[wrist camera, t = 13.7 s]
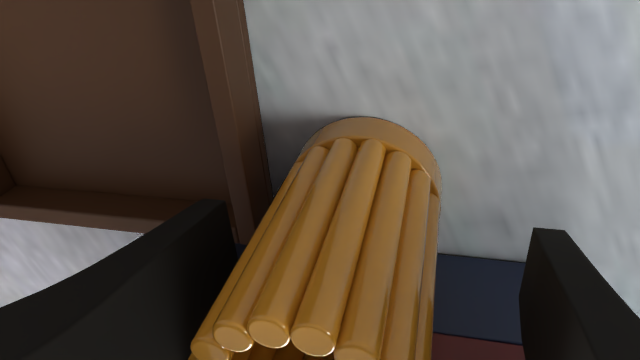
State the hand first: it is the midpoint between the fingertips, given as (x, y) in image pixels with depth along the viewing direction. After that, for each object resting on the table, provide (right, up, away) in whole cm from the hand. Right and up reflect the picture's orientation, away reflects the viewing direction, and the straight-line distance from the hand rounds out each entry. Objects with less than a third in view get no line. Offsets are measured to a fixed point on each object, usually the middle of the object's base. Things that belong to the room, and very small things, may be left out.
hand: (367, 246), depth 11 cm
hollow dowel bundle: (0, -2, 0) cm, 2 cm away
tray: (-8, +5, +2) cm, 10 cm away
